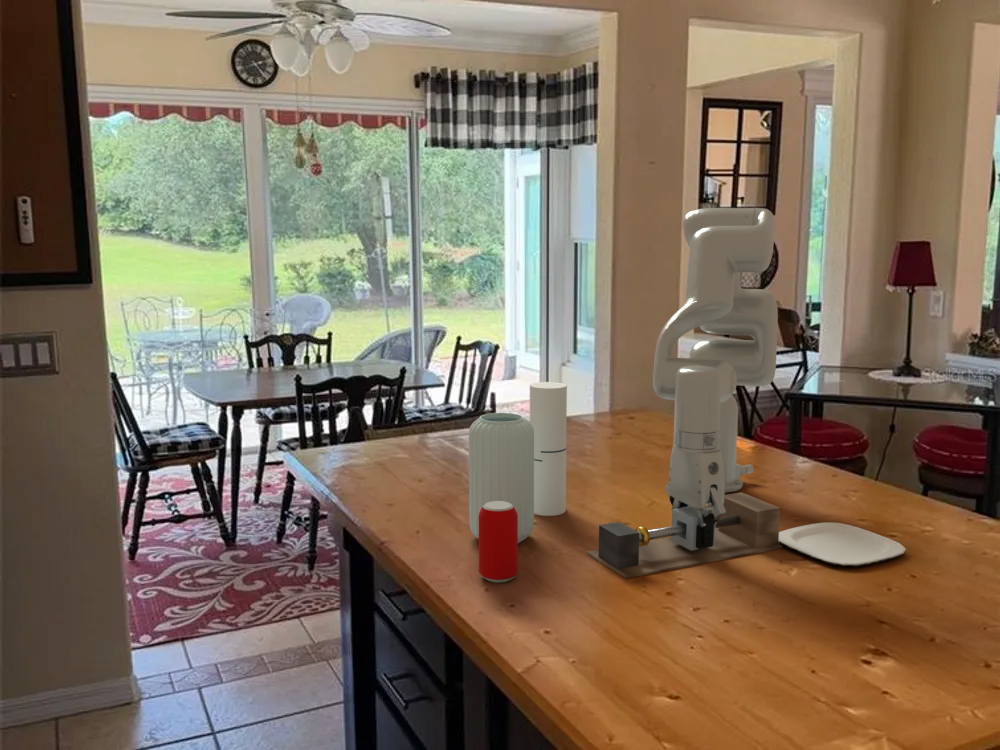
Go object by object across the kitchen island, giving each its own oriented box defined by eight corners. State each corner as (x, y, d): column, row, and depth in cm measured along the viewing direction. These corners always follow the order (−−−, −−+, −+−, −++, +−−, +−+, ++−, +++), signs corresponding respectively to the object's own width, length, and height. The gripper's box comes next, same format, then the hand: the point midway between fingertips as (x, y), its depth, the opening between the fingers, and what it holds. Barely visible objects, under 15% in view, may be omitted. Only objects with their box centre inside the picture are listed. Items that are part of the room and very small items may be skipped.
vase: (541, 531, 164) (542, 412, 160) (522, 553, 153) (522, 426, 149) (482, 525, 167) (482, 408, 164) (460, 545, 157) (458, 421, 153)
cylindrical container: (563, 516, 172) (564, 389, 168) (526, 514, 173) (526, 387, 169) (567, 505, 179) (569, 382, 175) (532, 503, 180) (533, 381, 176)
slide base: (736, 527, 166) (738, 490, 164) (782, 548, 155) (784, 509, 154) (586, 553, 152) (587, 514, 151) (625, 578, 142) (625, 536, 141)
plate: (843, 577, 143) (843, 567, 143) (761, 542, 159) (762, 533, 159) (919, 558, 151) (919, 548, 151) (834, 526, 167) (835, 518, 167)
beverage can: (504, 588, 138) (504, 513, 136) (471, 579, 141) (470, 507, 139) (524, 575, 143) (524, 503, 141) (492, 567, 147) (491, 497, 145)
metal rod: (733, 525, 159) (734, 508, 159) (745, 531, 157) (746, 513, 156) (608, 547, 149) (608, 529, 148) (618, 553, 146) (618, 534, 145)
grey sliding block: (694, 535, 158) (695, 505, 157) (714, 546, 153) (716, 514, 152) (671, 540, 156) (672, 509, 155) (690, 550, 151) (691, 518, 150)
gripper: (747, 448, 145) (743, 554, 148) (683, 426, 160) (680, 523, 163) (710, 453, 142) (706, 561, 145) (648, 430, 157) (646, 529, 160)
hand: (692, 540), depth 154 cm, fingers closed on grey sliding block, 5 cm apart
